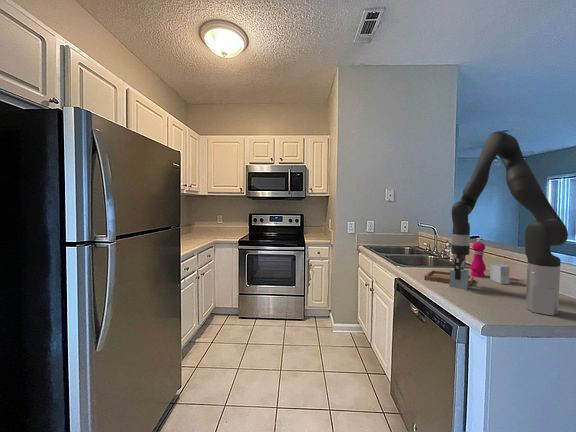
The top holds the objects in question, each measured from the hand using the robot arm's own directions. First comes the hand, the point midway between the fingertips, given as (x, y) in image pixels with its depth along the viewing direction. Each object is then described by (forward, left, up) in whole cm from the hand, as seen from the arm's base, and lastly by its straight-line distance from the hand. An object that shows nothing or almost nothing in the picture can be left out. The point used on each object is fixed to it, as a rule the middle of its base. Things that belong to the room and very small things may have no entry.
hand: (459, 278), depth 143 cm
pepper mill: (+30, -5, -4) cm, 31 cm away
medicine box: (+22, -15, -4) cm, 27 cm away
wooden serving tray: (+11, +6, -4) cm, 14 cm away
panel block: (-1, 0, -4) cm, 4 cm away
